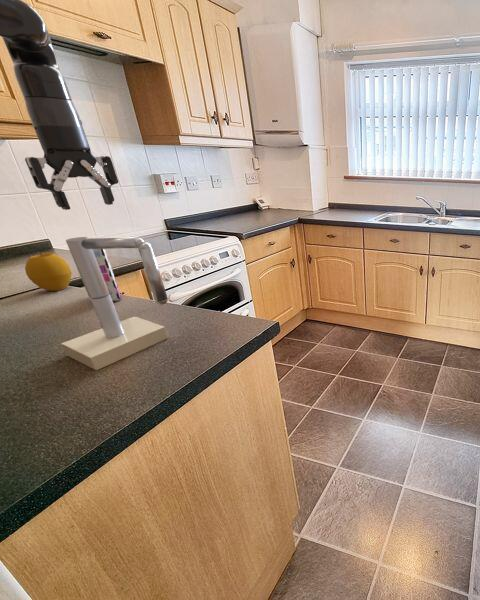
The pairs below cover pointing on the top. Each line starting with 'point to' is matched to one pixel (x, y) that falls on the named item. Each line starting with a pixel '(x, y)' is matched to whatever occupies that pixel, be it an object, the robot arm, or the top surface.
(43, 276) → the yellow fruit
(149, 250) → the spout
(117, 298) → the candy bar box
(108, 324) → the tap stand
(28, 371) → the top surface
